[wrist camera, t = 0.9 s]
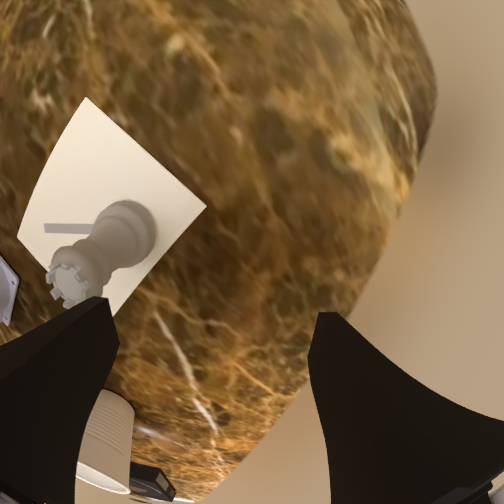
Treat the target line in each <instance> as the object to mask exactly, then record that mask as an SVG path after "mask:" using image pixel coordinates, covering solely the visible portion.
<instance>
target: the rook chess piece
mask: <svg viewBox="0 0 504 504" xmlns="http://www.w3.org/2000/svg"><path fill="white" fill-rule="evenodd" d="M155 238H156V233H155V228H154V223H153V221H152V220H151V218H150V216H149V214H148V213H147V211H145V210H144V209H143V208H142V207H140V206H139V205H138V204H137V203H133V202H130V201H126V200H123V201H117V202H113V203H112V204H111V205H109V206H108V207H107V208H105V209H104V210H103V211H101V212H100V213H99V215H98V216H97V218H96V220H95V222H94V224H93V229H92V231H91V234H90V235H89V236H88V237H87V238H86V239H80V240H78V241H76V242H75V243H74V244H73V245H72V246H71V245H70V246H62V247H60V248H59V249H58V250H56V251H55V252H54V255H53V257H52V260H51V265H50V266H48V268H49V269H50V271H49V272H48V273H46V283H48V284H51V283H52V282H53V285H54V287H55V288H54V289H53V290H52V291H50V293H51V295H52V296H53V298H54V299H55V300H56V299H57V298H58V297H59V296H61V297H62V298H63V299H64V300H65V301H64V302H63V307H64V308H66V309H70V308H71V307H73V306H75V305H77V304H78V303H80V302H82V301H84V300H86V299H88V298H90V297H93V296H98V297H101V296H102V295H103V286H105V285H107V284H108V282H109V280H110V279H111V276H112V272H114V271H115V270H117V269H118V268H131V267H133V266H135V265H137V264H138V263H140V262H142V261H143V260H144V258H146V257H147V256H148V255H149V254H150V252H151V251H152V249H153V248H154V243H155Z"/></svg>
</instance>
